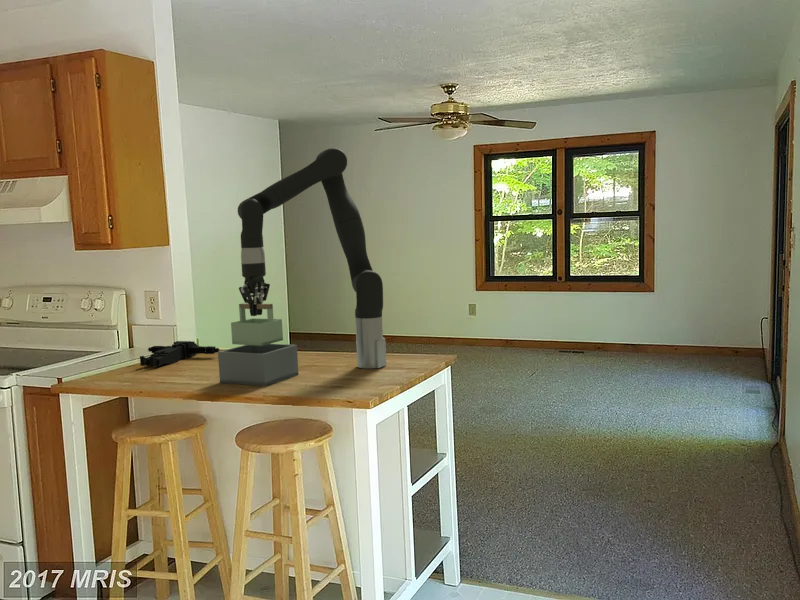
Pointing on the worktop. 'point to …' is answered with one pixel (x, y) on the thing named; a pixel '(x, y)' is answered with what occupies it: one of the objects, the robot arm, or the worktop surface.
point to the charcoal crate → (258, 364)
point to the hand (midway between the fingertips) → (256, 315)
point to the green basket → (256, 328)
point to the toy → (175, 353)
